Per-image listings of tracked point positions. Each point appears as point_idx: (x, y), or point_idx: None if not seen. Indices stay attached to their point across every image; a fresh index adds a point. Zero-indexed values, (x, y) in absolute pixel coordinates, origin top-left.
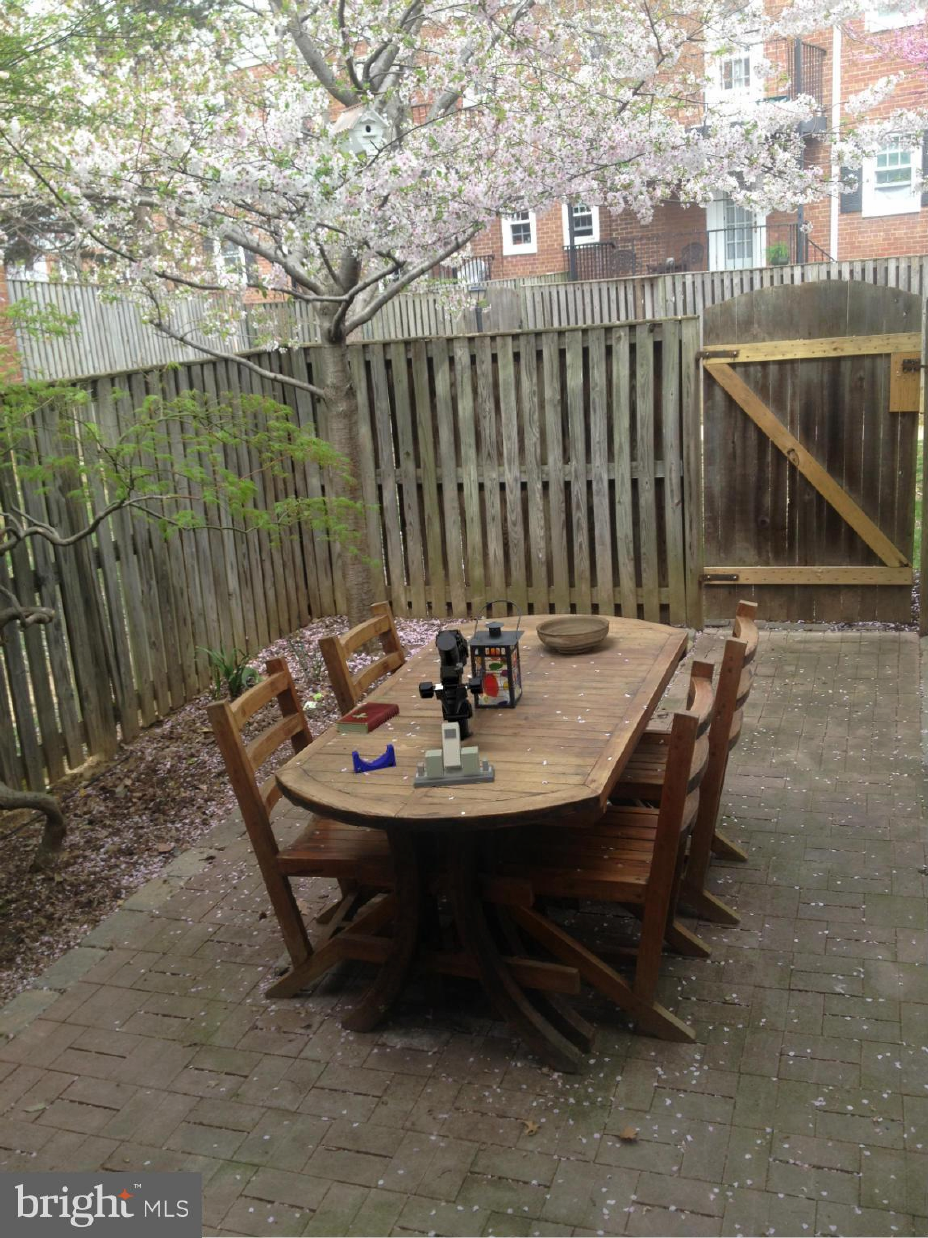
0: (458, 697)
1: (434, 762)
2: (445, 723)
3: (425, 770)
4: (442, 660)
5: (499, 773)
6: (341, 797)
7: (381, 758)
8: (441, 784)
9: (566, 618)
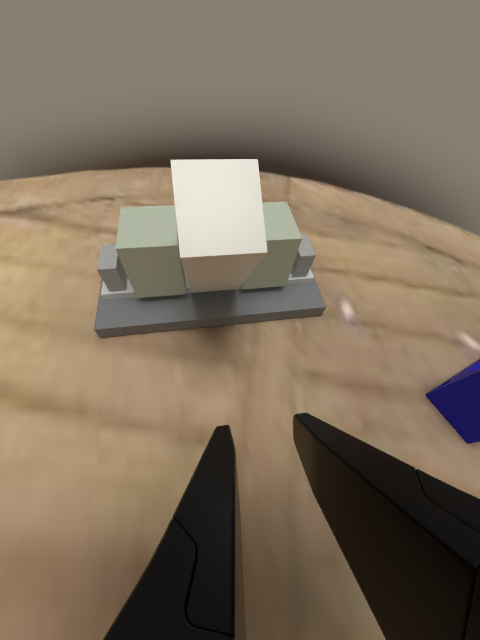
0: (176, 592)
1: None
2: (237, 159)
3: (300, 308)
4: None
5: (87, 313)
6: (428, 234)
7: None
8: None
9: None
